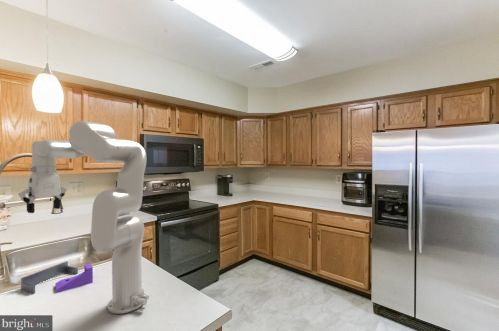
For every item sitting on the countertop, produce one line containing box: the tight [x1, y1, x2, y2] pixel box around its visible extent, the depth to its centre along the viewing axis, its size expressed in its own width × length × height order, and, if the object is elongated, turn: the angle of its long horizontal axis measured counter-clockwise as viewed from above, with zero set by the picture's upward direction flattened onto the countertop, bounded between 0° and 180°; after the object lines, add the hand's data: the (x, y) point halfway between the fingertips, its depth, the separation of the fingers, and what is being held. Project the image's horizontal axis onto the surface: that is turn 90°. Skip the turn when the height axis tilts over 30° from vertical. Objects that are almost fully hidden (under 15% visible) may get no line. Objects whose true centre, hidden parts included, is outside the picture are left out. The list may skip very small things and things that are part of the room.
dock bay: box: [20, 261, 79, 295], centre depth 102 cm, size 8×17×5 cm, turn 161°
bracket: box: [54, 263, 94, 294], centre depth 100 cm, size 12×7×7 cm, turn 132°
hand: (44, 210), depth 102 cm, fingers open, 9 cm apart
